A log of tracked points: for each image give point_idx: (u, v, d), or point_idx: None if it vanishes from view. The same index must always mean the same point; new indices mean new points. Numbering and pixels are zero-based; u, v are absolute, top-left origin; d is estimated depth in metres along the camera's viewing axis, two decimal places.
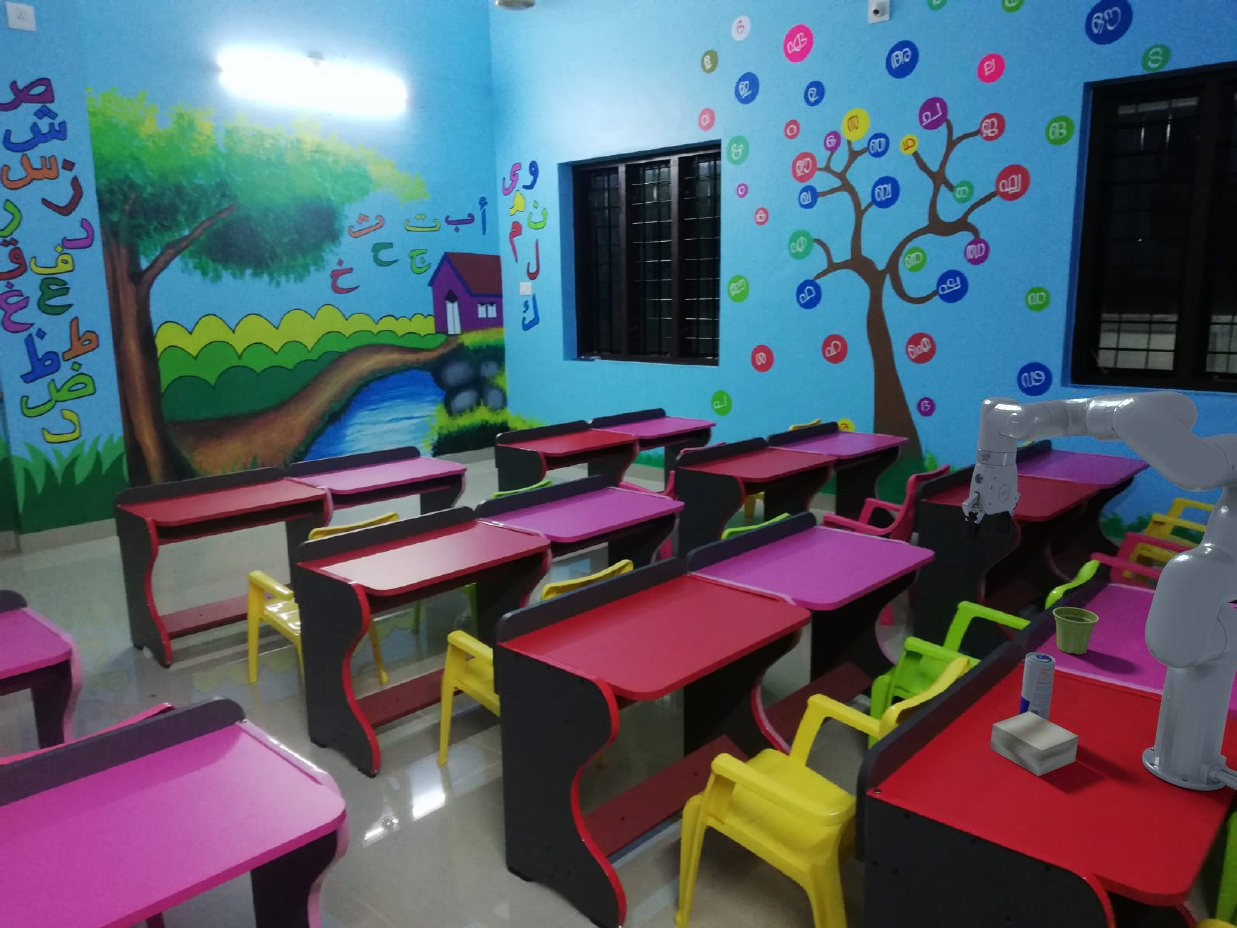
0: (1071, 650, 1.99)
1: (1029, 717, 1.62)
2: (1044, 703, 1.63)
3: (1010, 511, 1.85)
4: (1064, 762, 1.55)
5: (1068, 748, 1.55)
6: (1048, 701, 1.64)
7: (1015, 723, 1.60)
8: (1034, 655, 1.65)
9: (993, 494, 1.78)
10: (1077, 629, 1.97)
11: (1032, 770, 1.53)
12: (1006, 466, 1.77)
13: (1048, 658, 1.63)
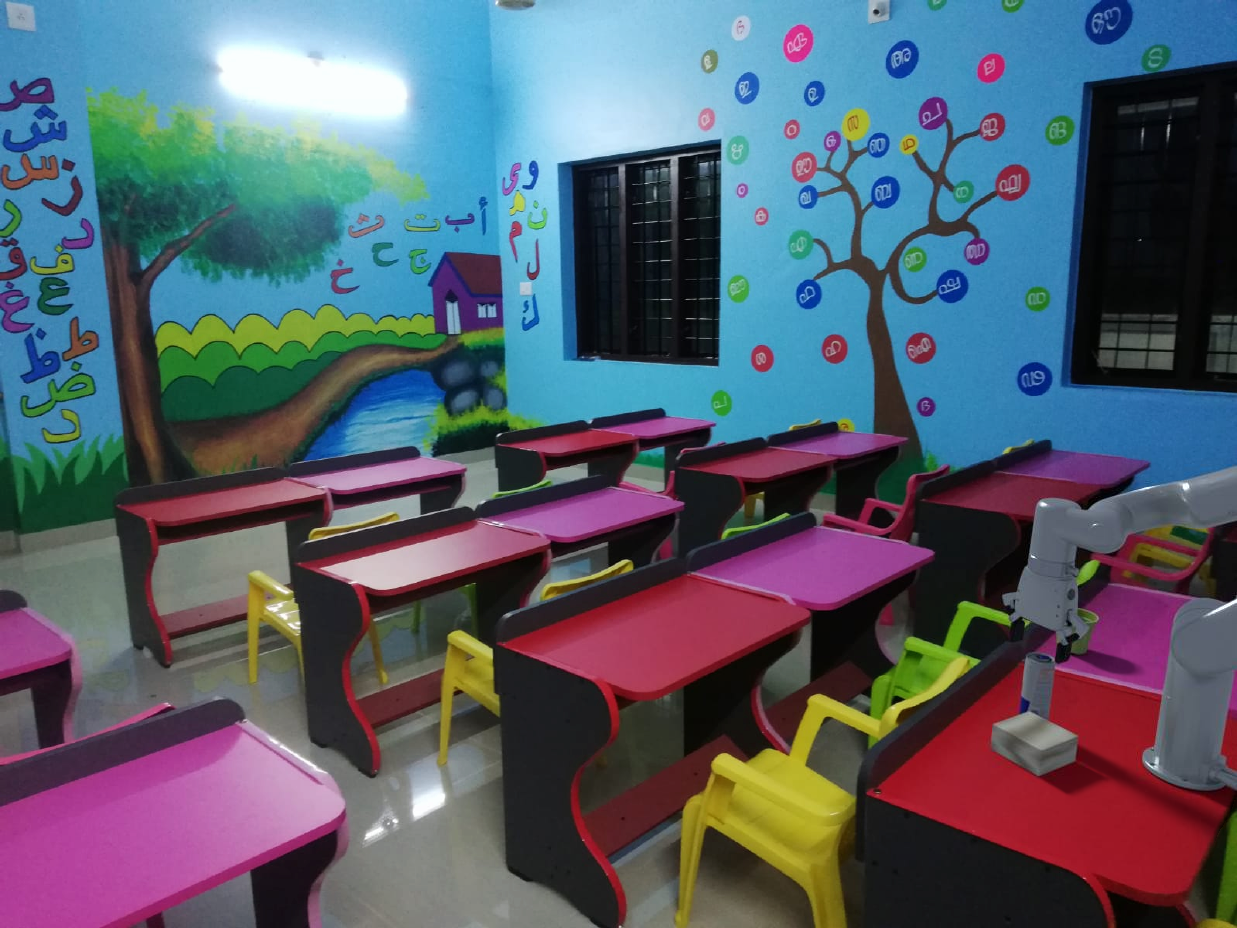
0: (1071, 650, 1.99)
1: (1029, 717, 1.62)
2: (1044, 703, 1.63)
3: None
4: (1064, 762, 1.55)
5: (1068, 748, 1.55)
6: (1048, 701, 1.64)
7: (1015, 723, 1.60)
8: (1034, 655, 1.65)
9: None
10: None
11: (1032, 770, 1.53)
12: None
13: (1048, 658, 1.63)
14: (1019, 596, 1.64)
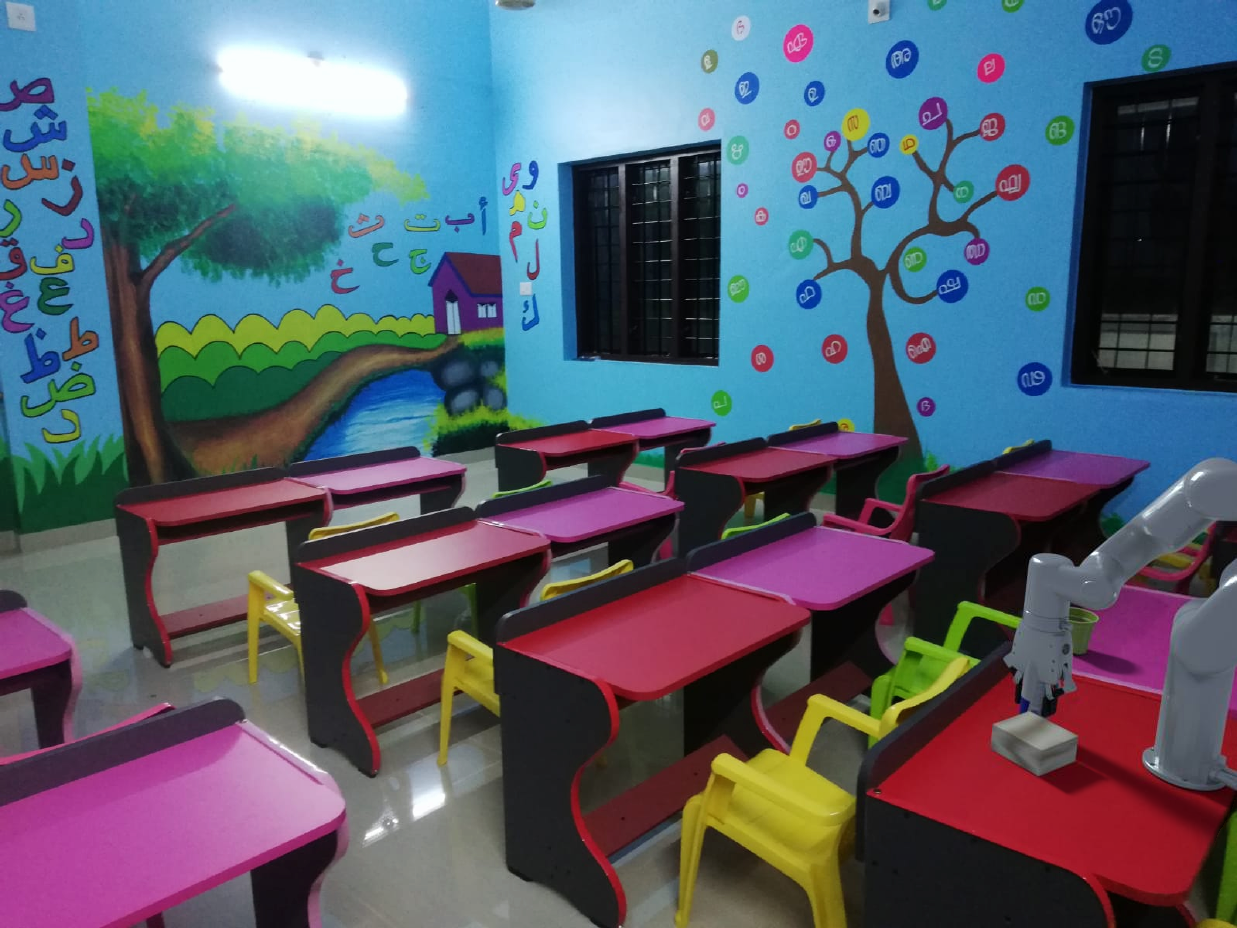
0: None
1: (1029, 717, 1.62)
2: None
3: None
4: (1064, 762, 1.55)
5: (1068, 748, 1.55)
6: None
7: (1015, 723, 1.60)
8: None
9: None
10: (1077, 629, 1.97)
11: (1032, 770, 1.53)
12: None
13: None
14: (1015, 649, 1.66)
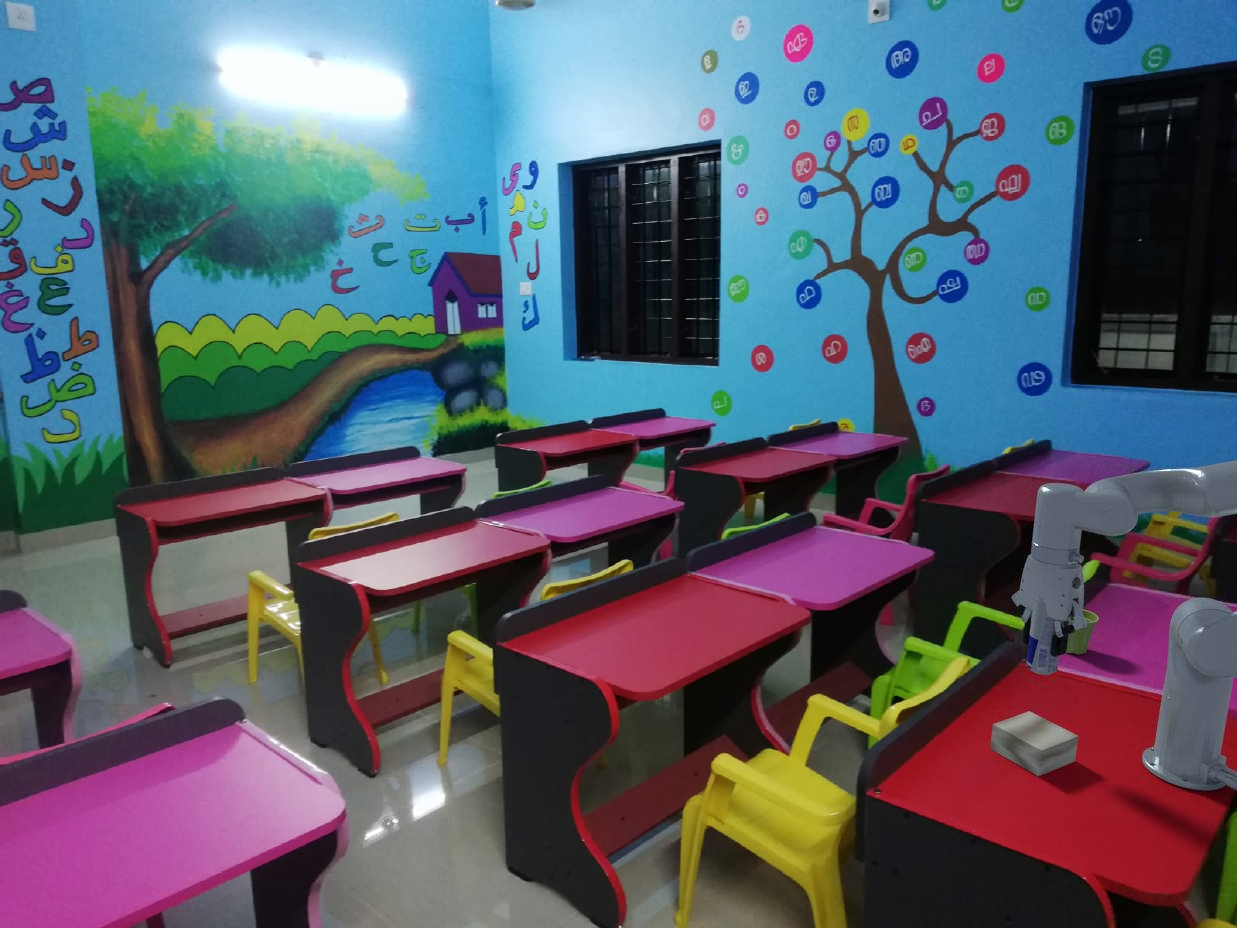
0: (1071, 650, 1.99)
1: (1029, 717, 1.62)
2: None
3: None
4: (1064, 762, 1.55)
5: (1068, 748, 1.55)
6: None
7: (1015, 723, 1.60)
8: None
9: None
10: None
11: (1032, 770, 1.53)
12: None
13: None
14: (1024, 586, 1.58)
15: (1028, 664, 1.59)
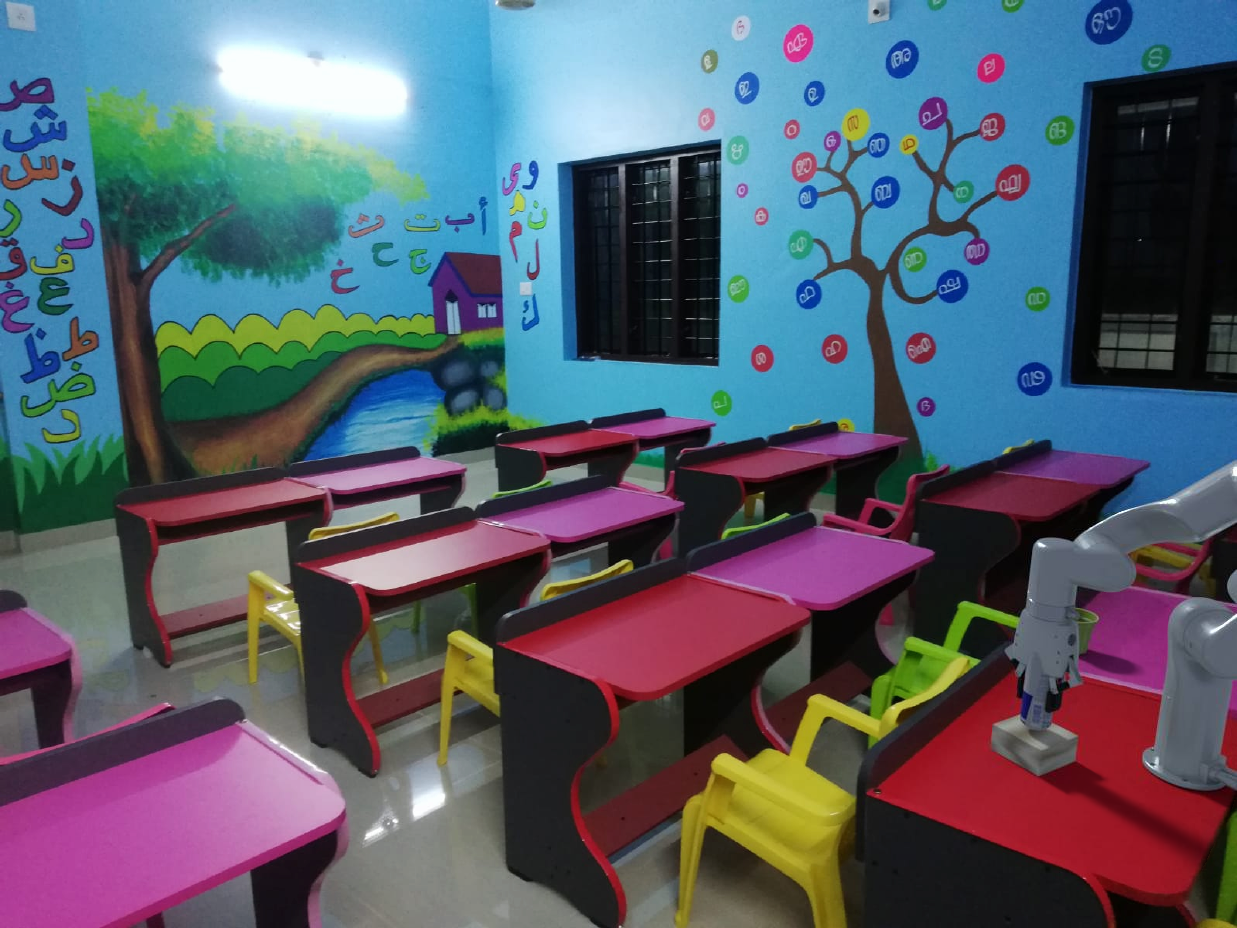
0: None
1: None
2: None
3: None
4: (1064, 762, 1.55)
5: (1068, 748, 1.55)
6: None
7: (1015, 723, 1.60)
8: None
9: None
10: None
11: (1032, 770, 1.53)
12: None
13: None
14: (1018, 640, 1.56)
15: (1022, 719, 1.57)
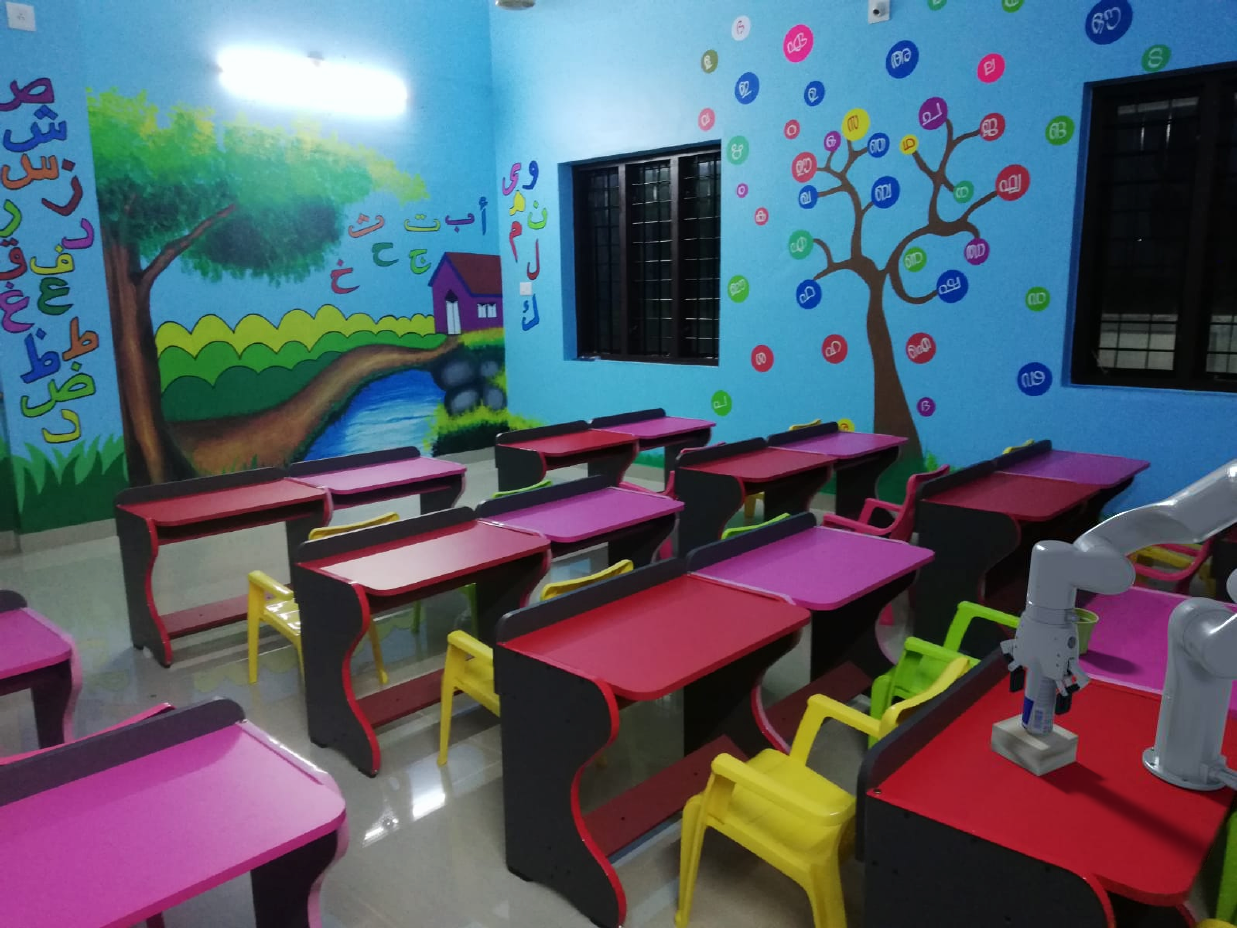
0: None
1: None
2: (1049, 702, 1.53)
3: None
4: (1064, 762, 1.55)
5: (1068, 748, 1.55)
6: (1053, 701, 1.54)
7: (1015, 723, 1.60)
8: None
9: None
10: None
11: (1032, 770, 1.53)
12: None
13: None
14: (1018, 643, 1.56)
15: (1023, 724, 1.57)
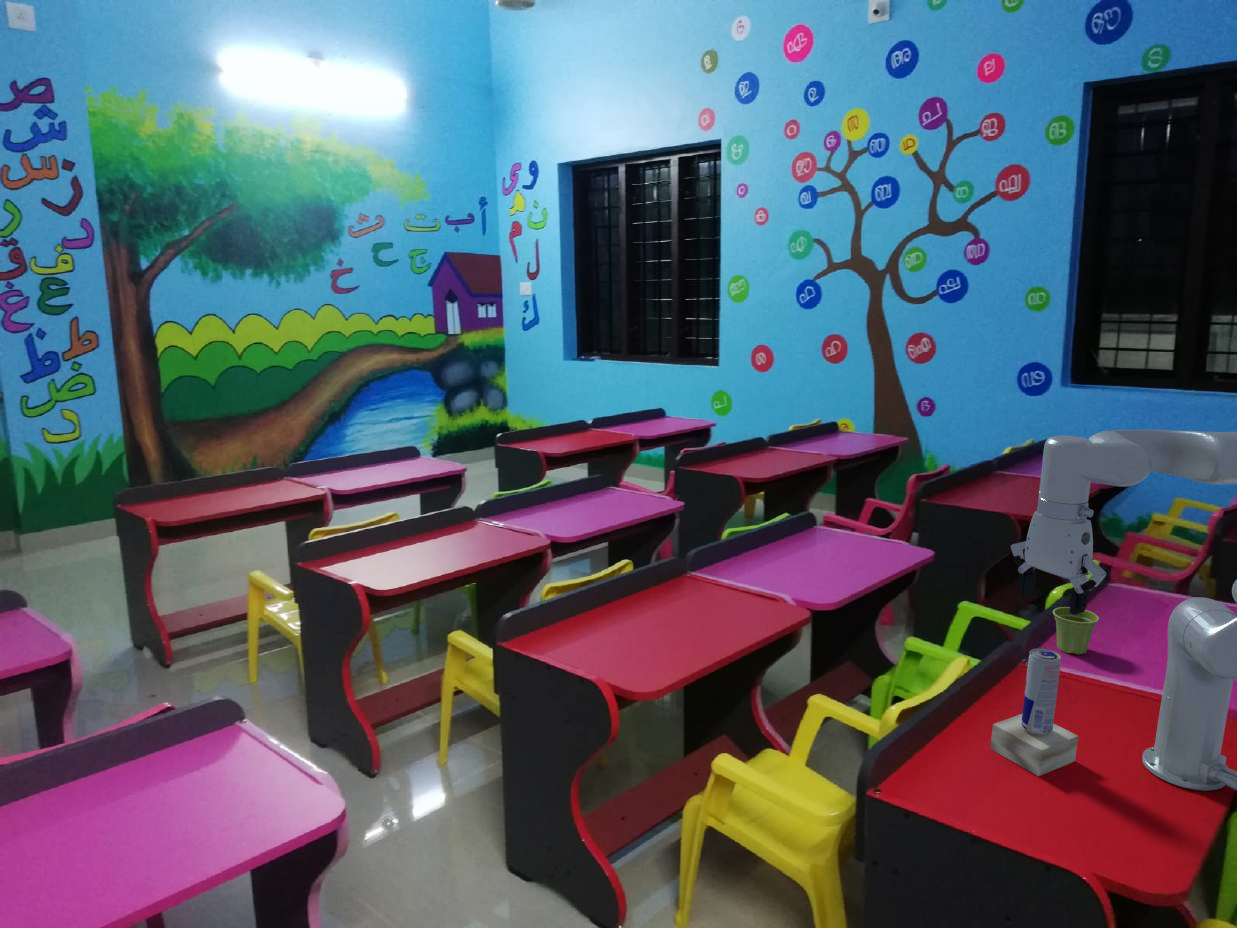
0: (1071, 650, 1.99)
1: None
2: (1049, 702, 1.53)
3: None
4: (1064, 762, 1.55)
5: (1068, 748, 1.55)
6: (1053, 701, 1.54)
7: (1015, 723, 1.60)
8: (1038, 652, 1.55)
9: None
10: (1077, 629, 1.97)
11: (1032, 770, 1.53)
12: None
13: (1053, 655, 1.53)
14: (1029, 544, 1.52)
15: (1023, 724, 1.57)
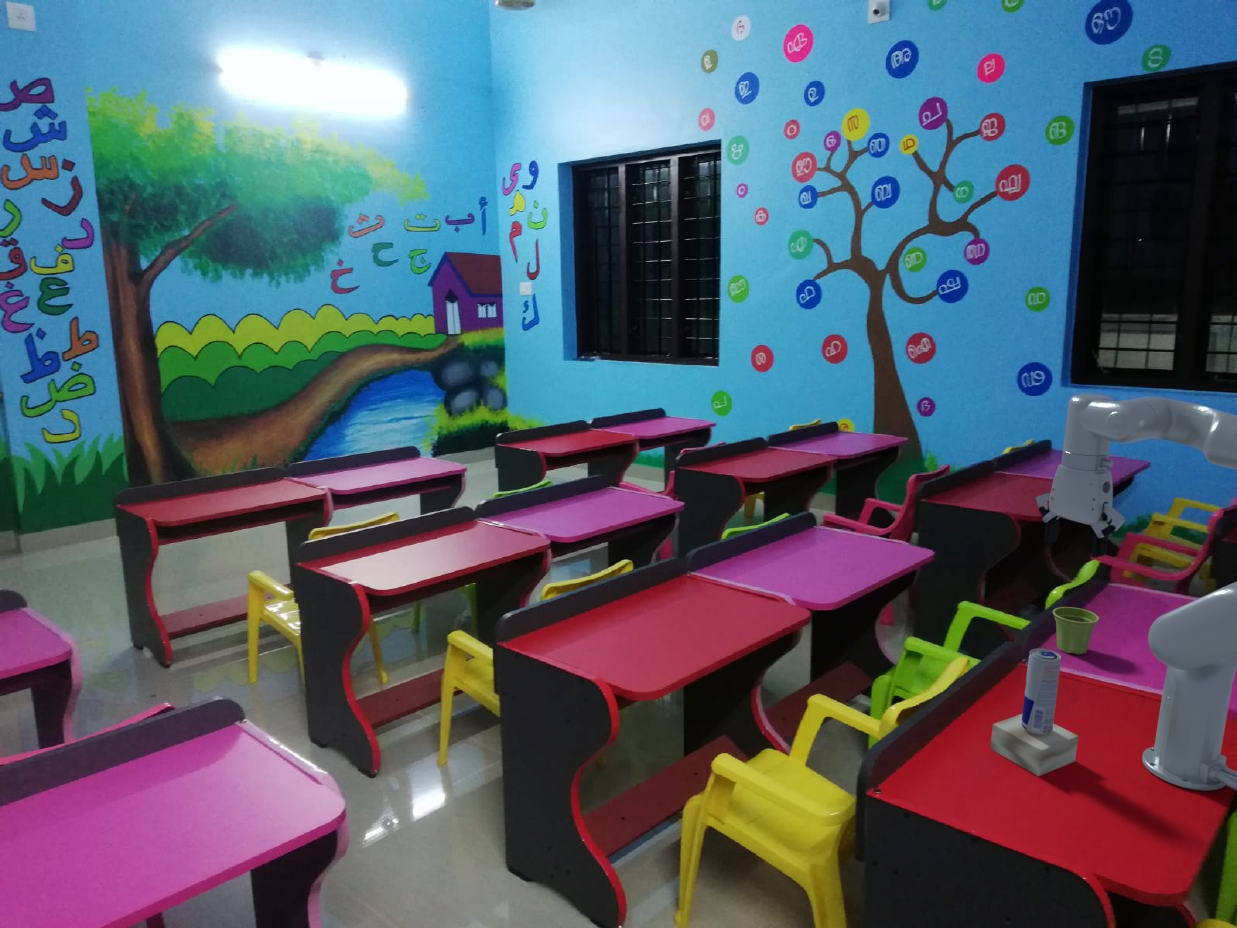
0: (1071, 650, 1.99)
1: None
2: (1049, 702, 1.53)
3: None
4: (1064, 762, 1.55)
5: (1068, 748, 1.55)
6: (1053, 701, 1.54)
7: (1015, 723, 1.60)
8: (1038, 652, 1.55)
9: None
10: (1077, 629, 1.97)
11: (1032, 770, 1.53)
12: None
13: (1053, 655, 1.53)
14: (1054, 494, 1.65)
15: (1023, 724, 1.57)
